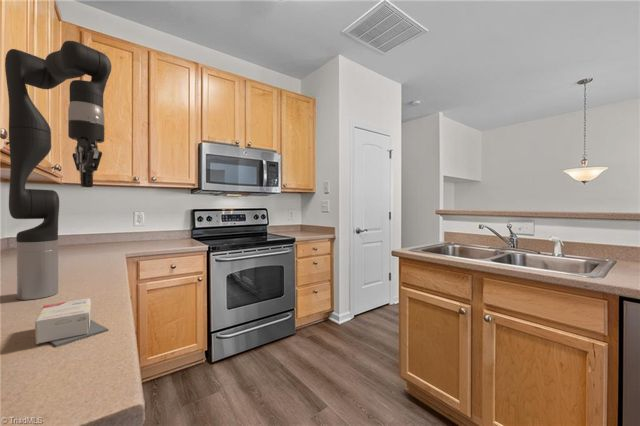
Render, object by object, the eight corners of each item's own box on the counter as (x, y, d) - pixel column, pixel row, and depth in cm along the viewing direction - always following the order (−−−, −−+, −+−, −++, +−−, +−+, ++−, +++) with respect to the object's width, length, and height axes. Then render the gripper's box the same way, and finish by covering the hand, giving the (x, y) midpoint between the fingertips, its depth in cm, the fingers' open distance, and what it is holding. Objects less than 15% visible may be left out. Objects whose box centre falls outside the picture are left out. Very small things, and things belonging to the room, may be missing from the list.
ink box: (44, 325, 66) (33, 345, 57) (43, 304, 66) (33, 321, 56) (91, 317, 71) (89, 334, 62) (90, 297, 71) (88, 311, 62)
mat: (36, 332, 63) (36, 330, 63) (86, 319, 71) (86, 317, 71) (56, 346, 57) (56, 344, 57) (108, 330, 65) (108, 328, 65)
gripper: (59, 122, 77) (60, 186, 77) (79, 115, 70) (79, 185, 70) (93, 128, 83) (93, 188, 84) (114, 123, 76) (113, 187, 77)
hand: (86, 187), depth 77 cm, fingers closed
